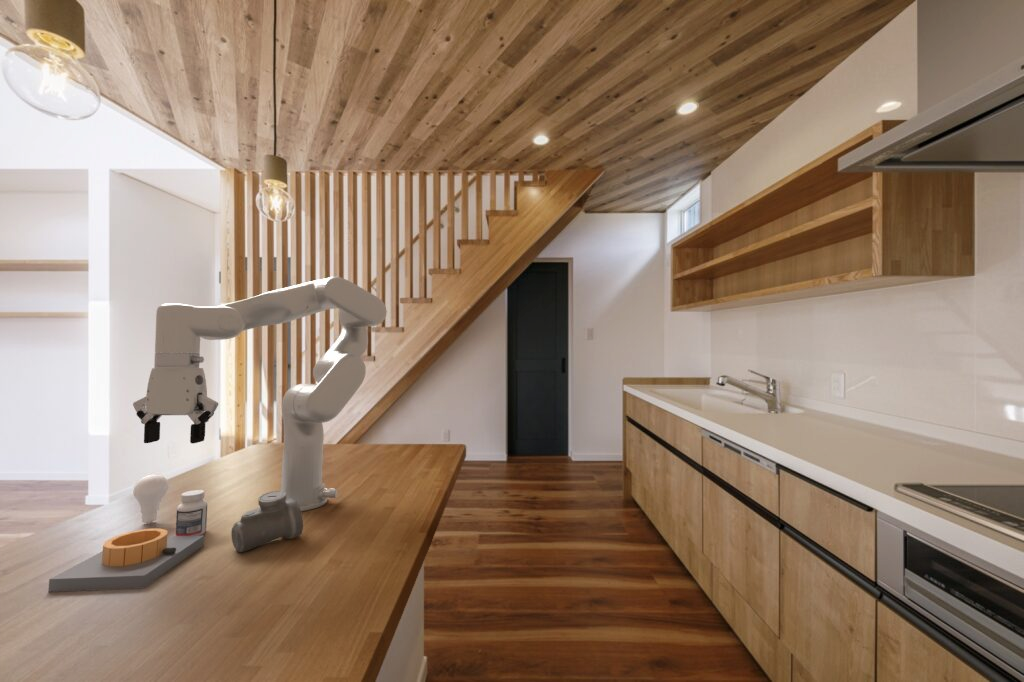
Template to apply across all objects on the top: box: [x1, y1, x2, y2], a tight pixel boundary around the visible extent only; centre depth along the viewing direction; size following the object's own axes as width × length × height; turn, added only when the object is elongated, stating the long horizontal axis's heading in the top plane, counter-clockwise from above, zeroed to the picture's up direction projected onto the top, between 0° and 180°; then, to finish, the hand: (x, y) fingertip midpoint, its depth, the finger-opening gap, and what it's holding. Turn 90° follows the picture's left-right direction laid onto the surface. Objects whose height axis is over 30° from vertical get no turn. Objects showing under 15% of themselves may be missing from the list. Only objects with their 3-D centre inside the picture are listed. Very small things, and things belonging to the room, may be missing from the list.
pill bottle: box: [175, 489, 208, 536], centre depth 90 cm, size 5×5×9 cm
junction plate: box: [47, 527, 205, 593], centre depth 76 cm, size 14×16×5 cm
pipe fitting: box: [230, 490, 304, 553], centre depth 86 cm, size 12×8×10 cm
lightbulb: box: [133, 473, 169, 525], centre depth 95 cm, size 6×6×11 cm
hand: (174, 442), depth 88 cm, fingers open, 9 cm apart
